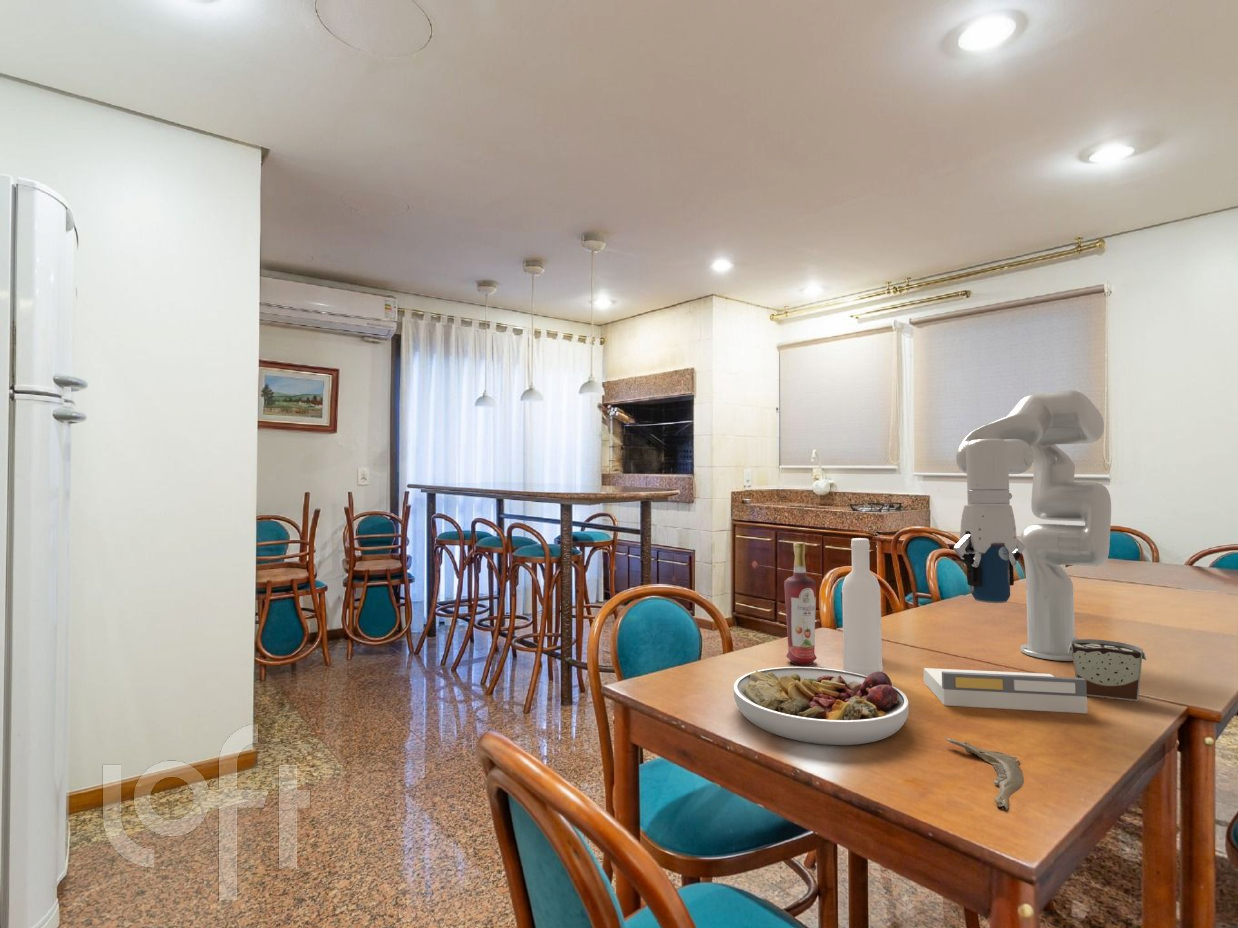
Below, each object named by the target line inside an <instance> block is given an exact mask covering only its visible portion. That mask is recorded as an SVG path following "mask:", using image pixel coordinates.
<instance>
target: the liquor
mask: <svg viewBox="0 0 1238 928" xmlns="http://www.w3.org/2000/svg"><path fill="white" fill-rule="evenodd" d="M793 553H794V563H793V574H792V576H789V577H788V578H786V579H785V580H784V581H783V587H784V600H785V601H784V603H785V614H786V615H785V617H786V629H787V630H786V631H787V654H786V658H787V659H788V660H789V661H790V662H791V663H793V664H795V665H799V666H810V665H811V664H813V663H814V662H815V661H816V659H817V655H816V653H815V646H816V645H815V637H816V636H815V632H816V631H815V630H816V610H817V609H816V606H817V603H816V602H817V582H816V581H815V580H814V579H813V578H811V577H809V576H807V569H806V568H807V567H806V560H805V559H806V557H805V554H806V543H805V542H793ZM809 664H810V665H809Z"/></svg>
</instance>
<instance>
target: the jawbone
mask: <svg viewBox="0 0 1238 928" xmlns="http://www.w3.org/2000/svg"><path fill="white" fill-rule="evenodd" d="M945 741H946V742H949V743H952V744H954V745H956V746H959V747H962V748H963V749H964V750H965V751H966V752H968V753H971V754H974V755H976V756H978V757H979V758H980V759H983V761H984V762H986V763H988V764H990V765H992V766H993V769H994V771H995V773H996V774H997V777H996V779H995V780H994V781H993V784H994V785H995V786H998V787H999V789H998V794H997V795H996V796H995V797H994V800H995V802H996V807H997V808H998V809H999V810H1002V811H1007V810H1008V809H1009V807H1010V806H1009V799H1010V797H1011V795H1012V794H1014V793H1015V792H1017V791H1018V790H1019V789H1020V788H1021V787H1022V786H1023V785H1024V782H1025V781H1024V780H1025V779H1024V778H1025V777H1024V774H1023V772H1022V771H1023V770H1022V769H1021V767H1020V760H1019V759H1018V758H1017V756H1013V755H1010V754H1007V753H1004V752H1001V751H995V750H994V751H993V750H986V749H981V748H979V747H977V746H974V745H972V744H970V743H969V742H967V741H964V742H961V741H959V740H955V739H951V738H949V737H946V738H945Z"/></svg>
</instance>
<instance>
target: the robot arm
mask: <svg viewBox="0 0 1238 928" xmlns="http://www.w3.org/2000/svg"><path fill="white" fill-rule="evenodd" d="M1104 431H1105V421H1104V418H1103V416H1102V412H1101V411H1100V410H1099V409H1098V408H1097V407H1096V405H1094V403H1093V402H1092V401H1091V399H1089V397H1088V396H1087V395H1085V394H1084V393H1082V392H1080V391H1077V390H1063V391H1062V390H1060V391H1054V392H1053V391H1052V392H1051V391H1050V392H1041V393H1034V394H1029V395H1026V396H1024V397H1023V398H1021V399H1020V400H1019V401H1018V402H1017V403H1016V405H1014V406H1013V408H1012V409H1011V410H1010V412H1009V413H1008V414H1007V416H1006V417H1002V418H1000V419H997V420H995V421H993V422H990V423H988V424H984V425H983V426H980V427H978V428H975V429H973V430H972V431H971V432H970V433H969V434H967V436H965V437H964V439H963V440H962V441H961V443H960V444H959V446H958V448H957V451H956V455H955V458H956V459H955V460H956V464H957V467H958V469H959V470H960V471H961V472H962V473H964V474H966V490H967V491H966V492H967V495H966V496H967V505H966V504H965V505H963V509H962V513H961V520H960V532H959V533H960V536H959V538H960V539H959V541H958V542H957V543H956V544H955V545H954V546H953V551H954V552H955V553H956V555H957V556H958V557H959V560H961V561H962V563H963V565H964V566H965V567H966V580H967V581H966V582H967V585H968V586H970V587H971V586H975V587H981V586H982V581H981V567H978V565H979V562H980V560H981V558H982V554H984V553H986V551H987V550H988V549H989V547H990V546H991V544H1000V543H1005V546H1006V548H1007V549H1008V551H1009V571H1010V587H1011V586H1014V583H1015V578H1014V573H1015V572H1014V567H1015V566H1017V561H1018V560H1019V559H1020V557H1021V554H1022V557H1023V562H1024V570H1025V583H1026V584H1025V587H1026V588H1025V591H1026V593H1025V594H1026V625H1027V626H1026V627H1027V629H1026V630H1027V643H1024V644H1021V645H1020V652H1022V653H1023V654H1025V655H1028V656H1029V657H1030V656H1031V657H1033V658H1038V659H1042V660H1043V659H1044V660H1051V661H1061V662H1062V661H1063V662H1073V656H1072V650H1071V651H1070V653H1068V649H1069V645H1070V644H1071V641H1073V640H1077V639H1080V638H1079V637H1076V636H1075V633H1076V631H1075V605H1074V604H1075V603H1074V601H1075V600H1074V599H1075V598H1074V584H1073V581H1072V579H1071V577H1070V576H1069V574H1068V572H1066V571H1065V570H1064V568H1063V567H1062V566H1067V565H1068V566H1076V567H1077V566H1080V567H1101V566H1103V565H1104V564H1106V563H1107V560H1108V558H1109V553H1110V543H1111V541H1110V540H1111V523H1112V522H1111V521H1112V499H1111V495H1110V491H1109V489H1108V488H1107V487H1106V486H1105V485H1103V484H1102V483H1099V482H1094V481H1075V470H1076V466H1075V462H1074V461H1073V460H1072V458H1071V457H1070V456H1069V455H1068V454H1067V453H1066V452H1065V451H1064V450H1062V449H1061V448H1060V447H1059V446H1057V445H1076V444H1090V443H1094V442H1097V441H1099V440H1100V439H1101V438H1102V436H1103V435H1104ZM1032 465H1033V478H1032V487H1031V501H1030V502H1031V505H1030V507H1031V512H1032V514H1033V516H1035V517H1036V518H1038V519H1040V520H1046V521H1059V522H1060V521H1063V522H1064V521H1065V522H1083V523H1084V525H1078V524H1077V525H1075V524H1061V523H1060V524H1057V523H1054V524H1053V523H1037V524H1036V523H1035V524H1031V525H1029V526H1027V527H1025V528H1024V529H1022V531H1021V534H1020V539H1019V538H1018V537H1017V527H1016V520H1015V514H1014V510H1013V506H1012V505H1011V503H1010V500H1012V499H1013V495H1012V493H1011V492H1010V475H1019V474H1022V473H1025V472H1027V471H1028V470H1029V469H1031V467H1032ZM973 548H974V551H972V549H973ZM972 555H975V556H974V558H973V557H972Z"/></svg>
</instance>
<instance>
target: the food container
mask: <svg viewBox="0 0 1238 928" xmlns="http://www.w3.org/2000/svg"><path fill="white" fill-rule="evenodd" d="M1071 650H1072V656H1073V661H1072V662H1073V668H1074V669H1073V670H1074V675H1075V678H1084V679H1085V680H1086V688H1087V697H1096V698H1104V697H1106V698H1107V699H1114V698H1119V699H1118V700H1123V699H1124V700H1125V699H1126V700H1125V701H1132V700H1135V701H1134V702H1139V695H1140V686H1141V685H1140V683H1141V674H1142V662H1143V660H1145V661H1147V657H1146V654H1145V652H1144V650H1143V648H1141V647H1139V646H1136V645H1133V644H1129V643H1125V642H1120V641H1115V640H1105V639H1094V638H1093V639H1092V638H1079V639H1077V640H1073V641H1071V644H1070V645H1069V649H1068V653H1070V651H1071ZM1106 698H1105V699H1106Z"/></svg>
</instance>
